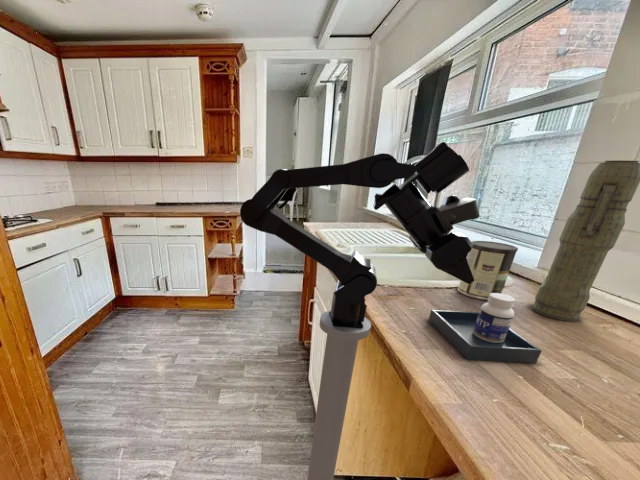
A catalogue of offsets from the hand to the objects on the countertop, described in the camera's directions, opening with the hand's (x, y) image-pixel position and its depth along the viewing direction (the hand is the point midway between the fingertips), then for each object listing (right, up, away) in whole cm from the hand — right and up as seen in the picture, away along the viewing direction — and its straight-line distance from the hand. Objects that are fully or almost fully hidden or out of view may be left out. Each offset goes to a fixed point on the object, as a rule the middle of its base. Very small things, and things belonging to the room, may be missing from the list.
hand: (462, 274), depth 58 cm
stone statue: (+35, -9, +18) cm, 40 cm away
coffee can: (+24, -4, +28) cm, 37 cm away
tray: (+6, -13, +4) cm, 15 cm away
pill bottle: (+7, -13, +3) cm, 15 cm away
